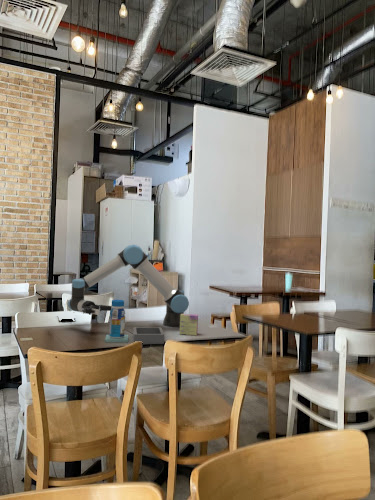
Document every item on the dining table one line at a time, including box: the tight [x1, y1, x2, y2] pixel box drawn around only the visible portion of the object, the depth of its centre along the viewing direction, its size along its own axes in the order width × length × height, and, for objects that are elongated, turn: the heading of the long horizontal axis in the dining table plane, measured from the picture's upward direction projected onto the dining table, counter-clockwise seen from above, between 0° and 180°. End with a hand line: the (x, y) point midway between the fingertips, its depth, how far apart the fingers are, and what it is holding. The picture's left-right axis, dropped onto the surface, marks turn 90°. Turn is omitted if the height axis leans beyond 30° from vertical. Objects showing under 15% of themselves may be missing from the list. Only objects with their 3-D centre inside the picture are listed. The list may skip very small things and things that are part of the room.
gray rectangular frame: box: [132, 326, 165, 345], centre depth 222 cm, size 16×20×5 cm
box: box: [179, 313, 199, 336], centre depth 241 cm, size 10×6×12 cm, turn 84°
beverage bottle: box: [108, 299, 126, 338], centre depth 220 cm, size 8×8×20 cm
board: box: [104, 334, 129, 343], centre depth 220 cm, size 12×12×2 cm
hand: (109, 311), depth 225 cm, fingers open, 13 cm apart
